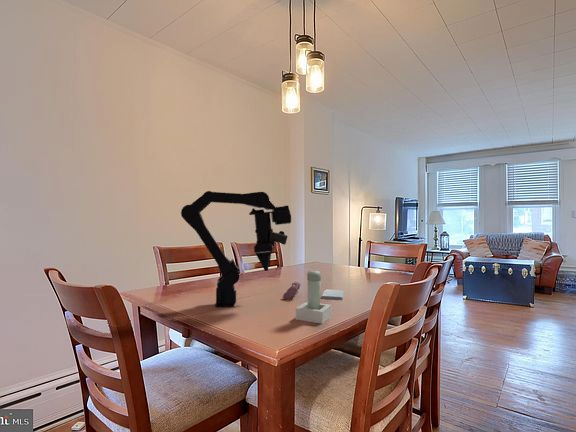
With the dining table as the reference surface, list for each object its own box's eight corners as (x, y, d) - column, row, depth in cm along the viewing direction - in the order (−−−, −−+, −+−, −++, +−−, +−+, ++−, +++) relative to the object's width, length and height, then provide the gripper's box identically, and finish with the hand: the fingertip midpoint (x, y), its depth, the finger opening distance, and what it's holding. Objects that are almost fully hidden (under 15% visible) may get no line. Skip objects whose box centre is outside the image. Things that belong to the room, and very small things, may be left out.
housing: (295, 319, 99) (295, 308, 99) (306, 312, 106) (306, 301, 106) (322, 323, 95) (322, 311, 95) (331, 315, 103) (331, 304, 103)
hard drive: (342, 297, 123) (344, 290, 135) (321, 295, 125) (324, 288, 137) (342, 301, 123) (344, 293, 135) (321, 300, 125) (324, 292, 137)
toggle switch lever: (311, 316, 98) (311, 273, 98) (304, 312, 101) (304, 271, 102) (323, 314, 100) (323, 272, 100) (316, 310, 103) (316, 270, 103)
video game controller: (292, 304, 123) (300, 287, 122) (281, 298, 123) (289, 282, 123) (296, 297, 132) (303, 282, 132) (286, 292, 133) (293, 277, 133)
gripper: (284, 225, 109) (289, 271, 109) (285, 223, 127) (289, 262, 128) (251, 228, 109) (256, 274, 109) (257, 226, 127) (261, 265, 128)
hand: (267, 268), depth 118 cm, fingers open, 9 cm apart
